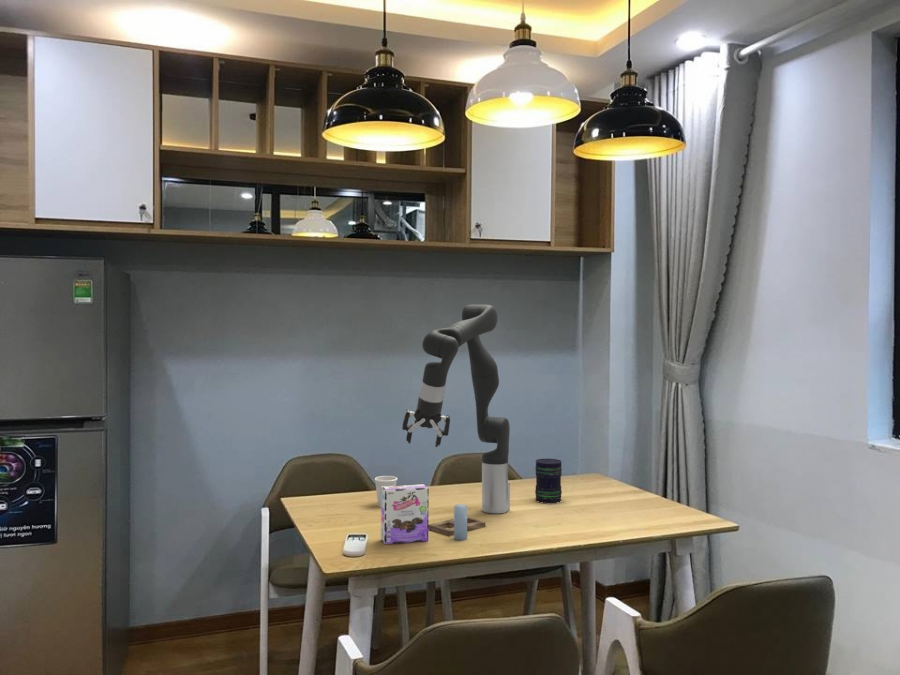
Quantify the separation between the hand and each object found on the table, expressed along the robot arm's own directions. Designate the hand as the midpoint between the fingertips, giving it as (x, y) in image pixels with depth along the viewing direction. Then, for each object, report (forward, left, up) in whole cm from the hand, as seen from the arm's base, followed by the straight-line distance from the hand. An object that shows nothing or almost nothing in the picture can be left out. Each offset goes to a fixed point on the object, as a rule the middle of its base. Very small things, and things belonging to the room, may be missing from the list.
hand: (422, 444), depth 220 cm
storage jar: (-65, -3, -29) cm, 72 cm away
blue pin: (-7, +10, -29) cm, 31 cm away
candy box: (+7, 0, -29) cm, 30 cm away
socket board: (-14, +1, -29) cm, 32 cm away
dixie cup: (-15, -38, -29) cm, 51 cm away
